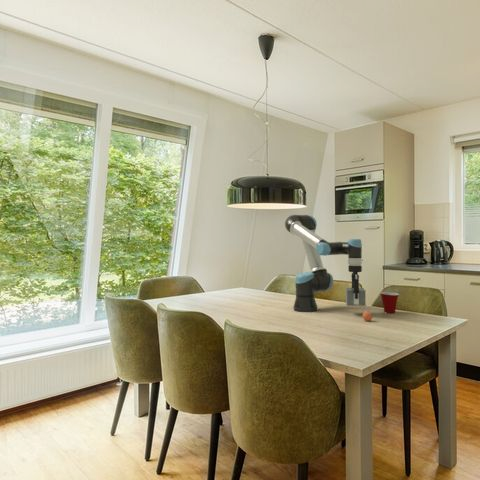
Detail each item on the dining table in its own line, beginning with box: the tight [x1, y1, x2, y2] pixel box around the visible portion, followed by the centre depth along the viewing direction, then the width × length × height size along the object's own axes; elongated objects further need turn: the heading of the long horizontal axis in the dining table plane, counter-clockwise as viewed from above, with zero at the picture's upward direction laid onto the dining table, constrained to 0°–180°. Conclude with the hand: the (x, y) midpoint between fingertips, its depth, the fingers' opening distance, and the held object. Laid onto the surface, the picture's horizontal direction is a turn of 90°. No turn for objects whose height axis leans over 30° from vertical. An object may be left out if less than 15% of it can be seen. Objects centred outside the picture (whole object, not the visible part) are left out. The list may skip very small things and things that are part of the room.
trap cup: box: [345, 287, 366, 307], centre depth 221 cm, size 10×10×9 cm
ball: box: [362, 311, 373, 322], centre depth 202 cm, size 5×5×5 cm
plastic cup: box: [379, 291, 400, 314], centre depth 223 cm, size 11×11×12 cm
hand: (355, 302), depth 221 cm, fingers closed on trap cup, 10 cm apart
